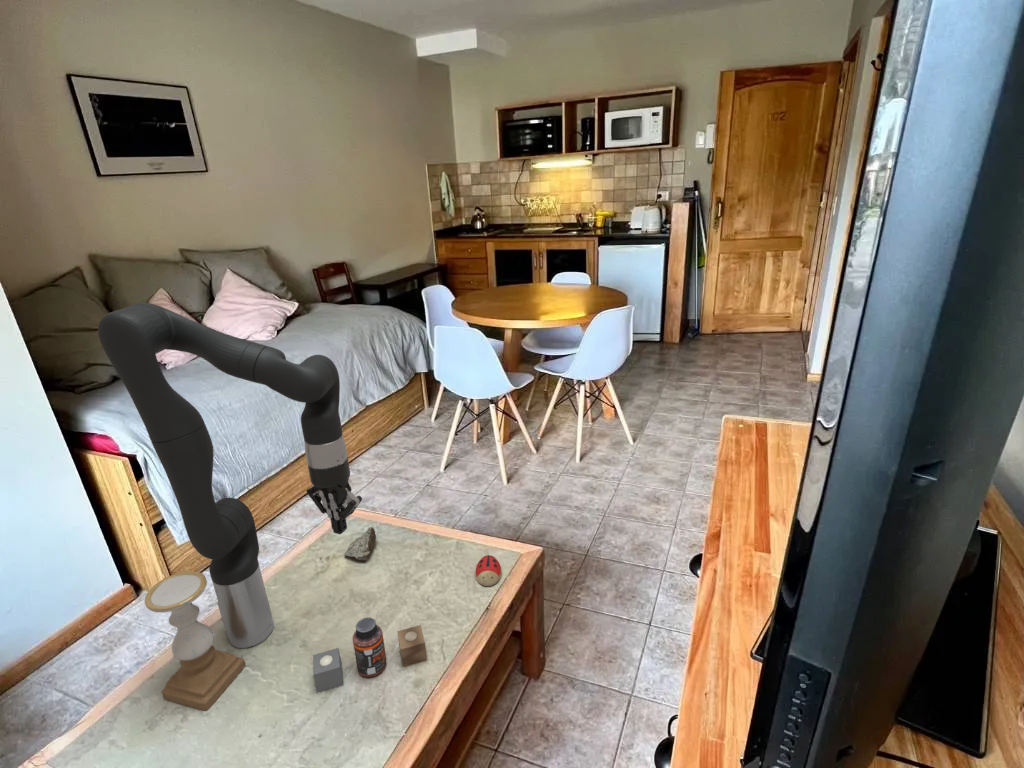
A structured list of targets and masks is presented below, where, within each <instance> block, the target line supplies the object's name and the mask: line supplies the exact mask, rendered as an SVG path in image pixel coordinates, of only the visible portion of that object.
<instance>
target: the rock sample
mask: <svg viewBox="0 0 1024 768" xmlns="http://www.w3.org/2000/svg"><path fill="white" fill-rule="evenodd" d="M376 539H377V534H376V530H375V528H374V527H373V526H369V527H368V529H367V530H366V531H365V532H364V533H362V535H361V536H359V537H357V538H356V539H355V540H354V541H352V542H351V543H350V544H349V546H348V547H347V550H346V551H345V552H344V557H347V558H355V559H356V560H359V561H366V560H368V556H369V555H370V553H371V551H372V549H373V547H374V544H375V543H376V542H377V541H376Z"/></svg>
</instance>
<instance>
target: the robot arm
mask: <svg viewBox="0 0 1024 768" xmlns="http://www.w3.org/2000/svg"><path fill="white" fill-rule="evenodd" d="M97 326H98V327H97V335H98V338H99V342H100V344H101V348H102V350H103V351H104V353H105V355H106V356H107V358H108V361H110V364H111V366H112V367H113V369H114V370H115V372H116V373H117V375H118V376H119V379H120V380H121V381H122V383H123V385H124V386H125V388H126V390H127V392H128V394H129V396H130V398H131V399H132V402H133V404H134V406H135V409H136V410H137V412H138V414H139V417H140V418H141V421H142V423H143V424H144V427H145V429H146V433H147V434H148V437H149V441H150V442H151V444H152V446H153V449H154V450H155V453H156V455H157V457H158V459H159V462H160V464H161V465H162V468H163V469H164V472H165V474H166V477H167V479H168V481H169V484H170V486H171V489H172V491H173V493H174V496H175V500H176V502H177V504H178V508H179V511H180V515H181V518H182V521H183V525H184V528H185V532H186V533H187V536H188V539H189V542H190V543H191V545H192V547H193V549H195V550H196V552H197V553H198V554H200V555H201V556H203V557H204V558H206V559H208V560H211V562H210V564H209V575H210V578H211V582H212V585H213V589H214V592H215V596H216V598H217V607H218V611H219V614H220V617H221V620H222V624H223V628H224V630H225V634H226V636H227V637H228V641H229V642H230V644H231V646H232V647H235V648H237V649H247V648H251V646H252V647H254V646H257V645H259V644H261V643H262V642H263V641H265V640H266V639H268V637H269V636H270V635H271V634H272V632H273V630H274V628H275V626H274V625H275V624H274V619H273V616H272V610H271V606H270V603H269V602H270V601H269V598H268V595H267V591H266V587H265V582H264V579H263V575H262V571H261V567H260V564H259V563H260V562H259V560H258V559H259V558H258V557H259V552H260V545H259V540H258V539H259V538H258V534H257V529H256V528H257V527H256V523H255V522H256V521H255V520H254V516H253V513H252V511H251V509H249V507H248V506H247V504H246V503H244V502H243V501H242V500H240V499H238V498H236V497H223V498H221V499H219V500H217V501H216V500H215V497H214V493H213V472H214V471H213V470H214V454H215V453H214V444H213V441H212V438H211V435H210V433H209V430H208V427H207V425H206V423H205V421H204V418H203V416H202V415H201V413H200V412H199V410H198V409H197V408H196V407H195V406H194V405H193V404H192V403H191V402H190V401H188V400H187V399H186V398H185V397H183V396H182V395H181V394H180V393H178V392H177V391H176V390H175V389H174V388H173V387H172V386H171V385H170V384H169V382H168V380H167V379H166V377H165V375H164V373H163V371H162V368H161V366H160V364H159V361H158V357H157V355H156V354H159V353H161V352H163V351H164V350H168V351H169V350H170V351H178V352H184V353H188V354H191V355H195V356H197V357H199V358H202V359H203V360H205V361H206V362H208V363H209V364H210V365H212V366H213V367H215V368H216V369H217V370H219V371H221V372H223V373H225V374H227V375H228V376H231V377H235V378H238V379H242V380H245V381H248V382H251V383H255V384H259V385H264V386H266V387H267V388H269V389H270V390H272V391H274V392H277V393H278V394H280V395H282V396H284V397H285V398H288V399H289V400H292V401H295V402H299V403H305V405H304V408H303V410H302V413H301V415H300V425H301V431H302V436H303V442H304V455H305V458H306V464H307V470H308V474H309V480H310V483H311V484H312V486H311V487H309V488H307V490H306V493H307V495H308V496H309V498H310V499H311V500H312V502H313V503H314V504H315V506H316V507H317V509H318V511H320V512H321V514H327V515H326V516H327V517H328V518H329V519H330V525H331V528H332V531H333V534H337V535H342V534H343V533H344V532H345V531H346V530H347V529H348V525H347V518H348V517H349V516H350V515H352V514H353V513H354V512H355V511H356V509H357V508H358V507H359V505H360V504H361V502H362V501H363V498H362V497H361V495H357V496H356V495H355V494H354V493H353V492H352V487H351V485H350V482H349V480H350V477H351V470H350V463H349V456H348V452H347V451H348V450H347V445H346V441H345V439H344V434H343V429H342V428H343V427H342V423H341V422H342V421H341V417H340V411H339V410H340V407H339V406H340V390H341V389H340V384H341V383H340V382H341V381H340V375H339V371H338V368H337V366H336V364H335V362H334V361H332V360H331V358H329V357H328V356H325V355H322V354H314V355H311V356H308V357H307V358H306V359H304V360H302V362H301V363H294V362H291V361H289V360H287V359H286V355H285V354H284V352H283V351H282V350H280V349H278V348H276V347H273V346H272V347H271V346H270V345H269V346H268V345H265V344H261V343H259V342H255V341H251V340H247V339H244V338H240V337H236V336H234V335H230V334H227V333H225V332H222V331H219V330H216V329H214V328H212V327H209V326H206V325H204V324H202V323H200V322H197V321H195V320H192V319H189V318H188V317H186V316H184V315H182V314H180V313H176V312H174V311H172V310H171V309H168V308H165V307H163V306H160V305H158V304H154V303H151V302H141V303H136V304H132V305H130V306H127V307H123V308H121V309H117V310H113V311H112V312H109V313H107V314H105V315H103V316H102V318H100V321H99V323H98V325H97Z"/></svg>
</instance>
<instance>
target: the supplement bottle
mask: <svg viewBox="0 0 1024 768" xmlns="http://www.w3.org/2000/svg"><path fill="white" fill-rule="evenodd" d="M352 644H353V645H352V646H353V650H354V651H353V652H354V656H355V662H356V668H357V672H358V673H359V675H360V676H363V677H365V678H372V677H376V676H378V675H379V674H381V673H382V672H383V671H384V670H385V668H386V666H387V655H386V648H385V641H384V634H383V630H382V628H381V626H380V625H378V624H377V621H376V619H375V618H373V617H368V616H367V617H363V618H362V619H360V620H359V621H357V623H356V624H355V631H354V633H353V635H352Z"/></svg>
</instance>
